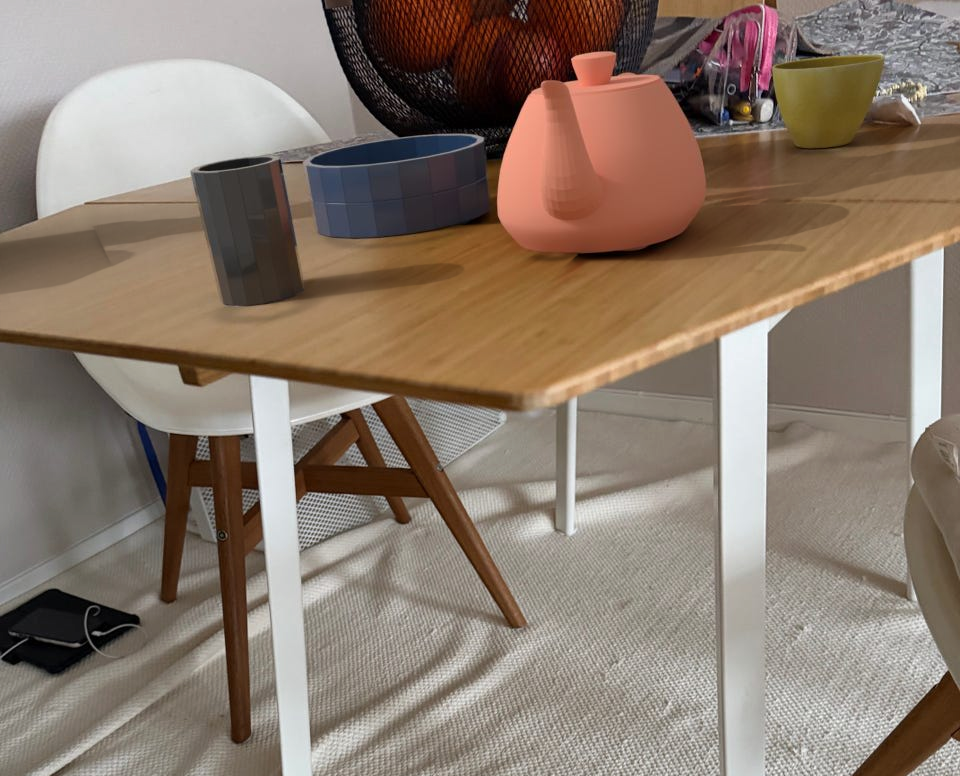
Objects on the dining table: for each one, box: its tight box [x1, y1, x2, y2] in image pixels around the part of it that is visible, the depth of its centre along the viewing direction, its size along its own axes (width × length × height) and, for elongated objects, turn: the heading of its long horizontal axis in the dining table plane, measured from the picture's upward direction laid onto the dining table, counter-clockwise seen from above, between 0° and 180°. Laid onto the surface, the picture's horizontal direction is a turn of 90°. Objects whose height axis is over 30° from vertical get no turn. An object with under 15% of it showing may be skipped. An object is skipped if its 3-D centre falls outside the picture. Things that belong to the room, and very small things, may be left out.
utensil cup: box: [189, 155, 306, 307], centre depth 74 cm, size 6×6×9 cm
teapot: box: [496, 51, 707, 254], centre depth 77 cm, size 22×15×12 cm
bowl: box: [302, 133, 492, 239], centre depth 93 cm, size 15×15×6 cm
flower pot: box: [771, 54, 886, 149], centre depth 104 cm, size 10×10×7 cm
